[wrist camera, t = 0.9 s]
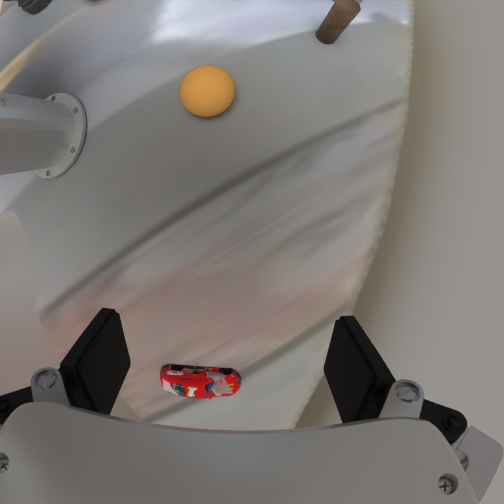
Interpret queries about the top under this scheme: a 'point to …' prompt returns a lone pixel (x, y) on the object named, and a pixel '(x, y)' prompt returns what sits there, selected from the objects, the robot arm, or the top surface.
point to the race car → (199, 381)
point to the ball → (207, 91)
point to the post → (337, 20)
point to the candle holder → (32, 5)
